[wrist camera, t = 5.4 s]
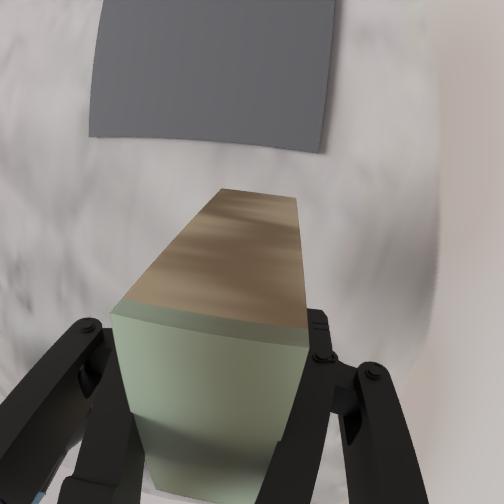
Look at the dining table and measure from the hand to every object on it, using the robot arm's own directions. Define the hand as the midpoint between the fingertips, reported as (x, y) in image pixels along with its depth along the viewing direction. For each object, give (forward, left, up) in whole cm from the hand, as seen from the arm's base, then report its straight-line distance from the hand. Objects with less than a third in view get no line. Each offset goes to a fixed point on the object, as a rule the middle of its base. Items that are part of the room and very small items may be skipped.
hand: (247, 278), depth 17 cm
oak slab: (0, 0, -1) cm, 1 cm away
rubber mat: (-6, +13, -10) cm, 18 cm away
